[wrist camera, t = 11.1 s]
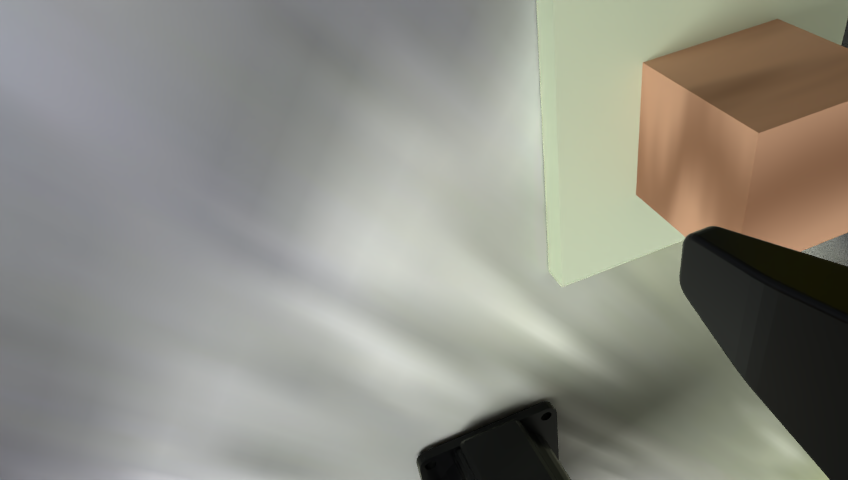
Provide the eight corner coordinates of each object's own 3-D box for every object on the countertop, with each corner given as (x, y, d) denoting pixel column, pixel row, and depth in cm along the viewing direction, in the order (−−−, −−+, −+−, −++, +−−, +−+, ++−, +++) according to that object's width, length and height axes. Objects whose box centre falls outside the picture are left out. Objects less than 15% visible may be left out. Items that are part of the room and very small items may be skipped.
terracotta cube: (754, 151, 26) (868, 223, 22) (635, 194, 25) (733, 278, 21) (777, 18, 23) (915, 76, 19) (642, 62, 22) (758, 133, 18)
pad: (787, 180, 29) (806, 193, 28) (548, 271, 27) (562, 287, 26) (849, -108, 22) (876, -103, 22) (535, -17, 20) (552, -7, 19)
